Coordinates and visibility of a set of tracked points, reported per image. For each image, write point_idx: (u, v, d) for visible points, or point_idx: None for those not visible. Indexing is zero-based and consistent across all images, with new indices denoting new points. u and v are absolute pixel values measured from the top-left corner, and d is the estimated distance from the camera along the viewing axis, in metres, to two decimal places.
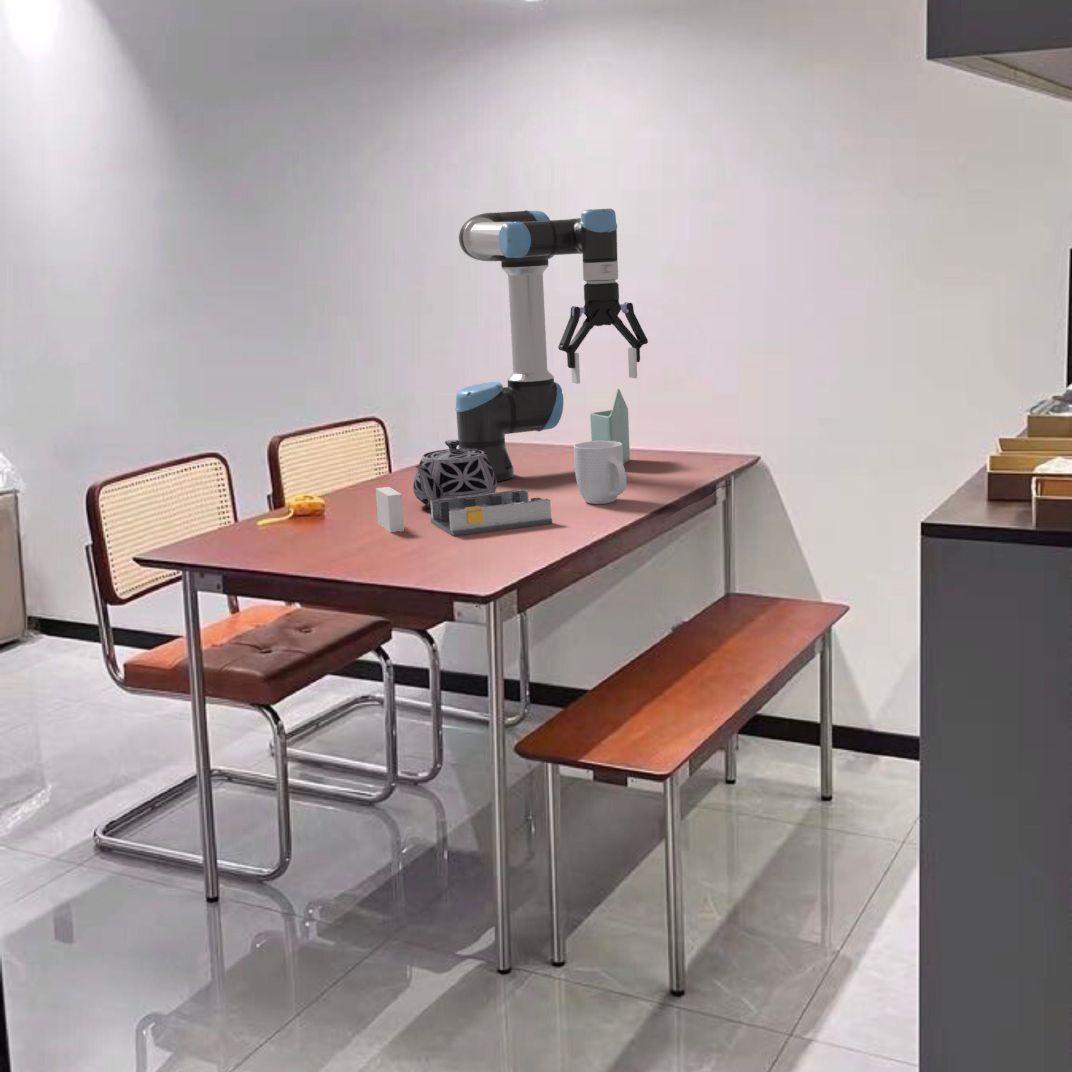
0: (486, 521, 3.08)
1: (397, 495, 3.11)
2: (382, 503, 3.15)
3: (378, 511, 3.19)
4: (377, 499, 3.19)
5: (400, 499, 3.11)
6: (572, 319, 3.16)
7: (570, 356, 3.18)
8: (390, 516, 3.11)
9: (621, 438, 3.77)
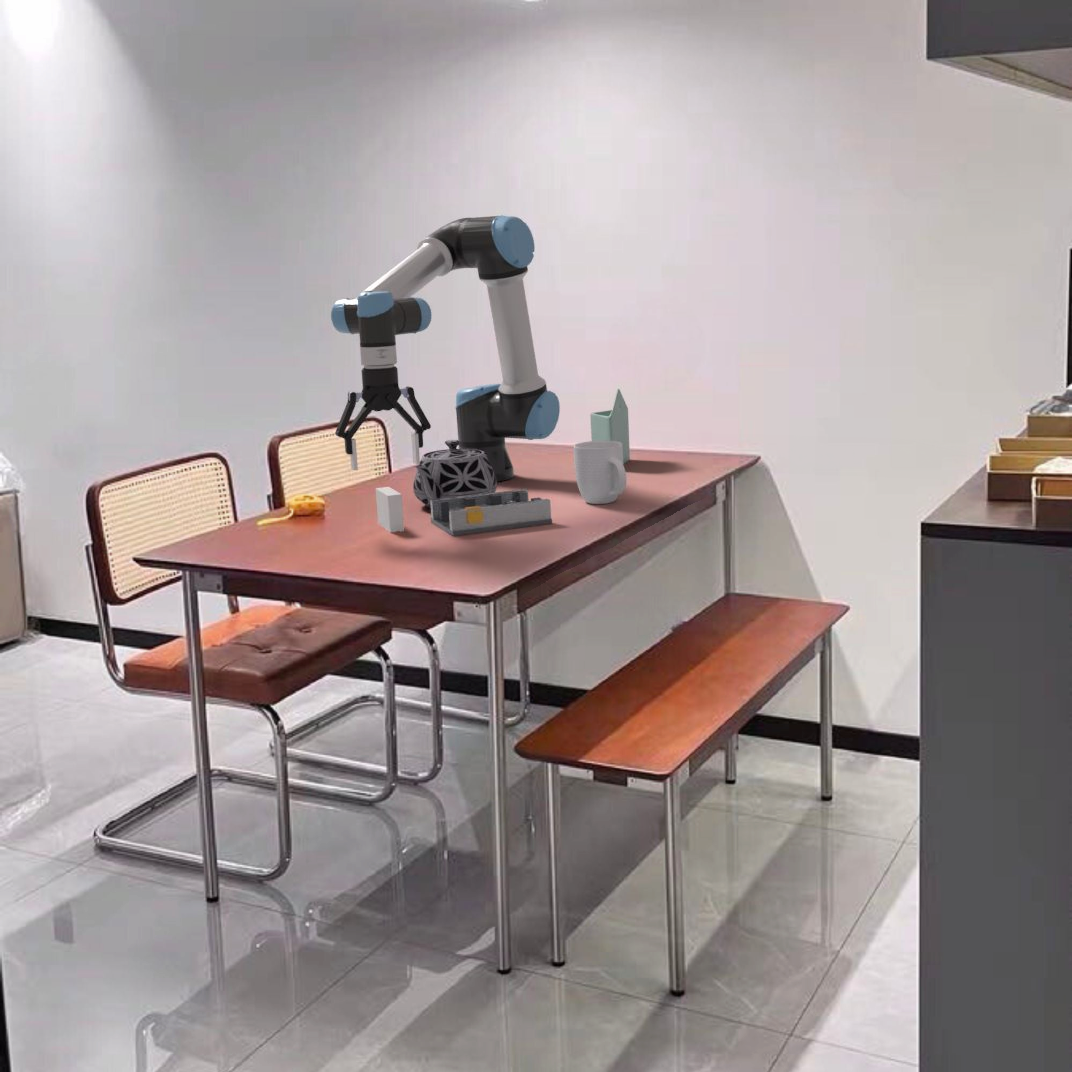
0: (486, 521, 3.08)
1: (397, 495, 3.11)
2: (382, 503, 3.15)
3: (378, 511, 3.19)
4: (377, 499, 3.19)
5: (400, 499, 3.11)
6: (348, 404, 3.08)
7: (347, 442, 3.09)
8: (390, 516, 3.11)
9: (621, 438, 3.77)
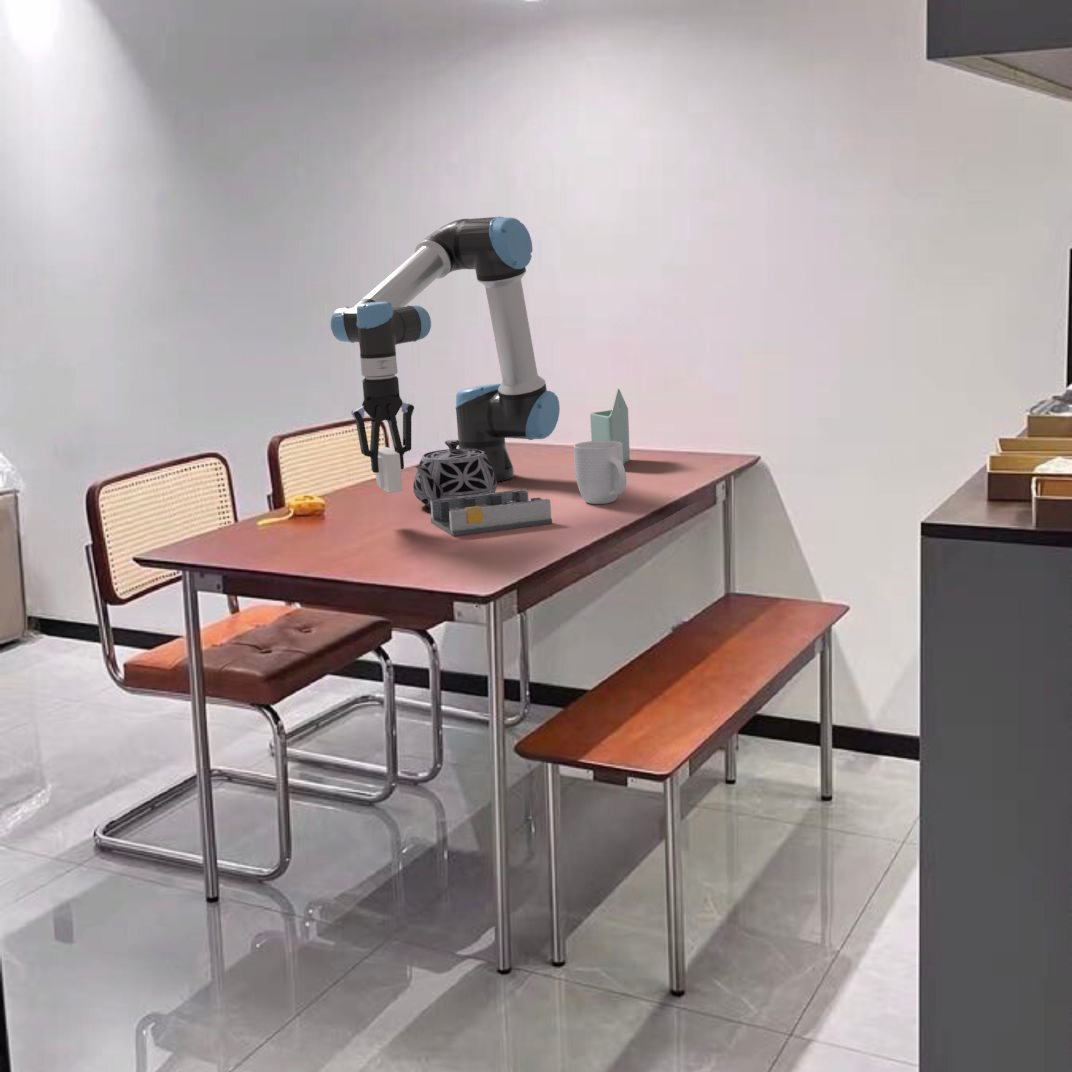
0: (486, 521, 3.08)
1: (395, 455, 3.09)
2: None
3: None
4: None
5: (398, 458, 3.09)
6: (358, 424, 3.09)
7: (373, 461, 3.12)
8: (389, 476, 3.09)
9: (621, 438, 3.77)
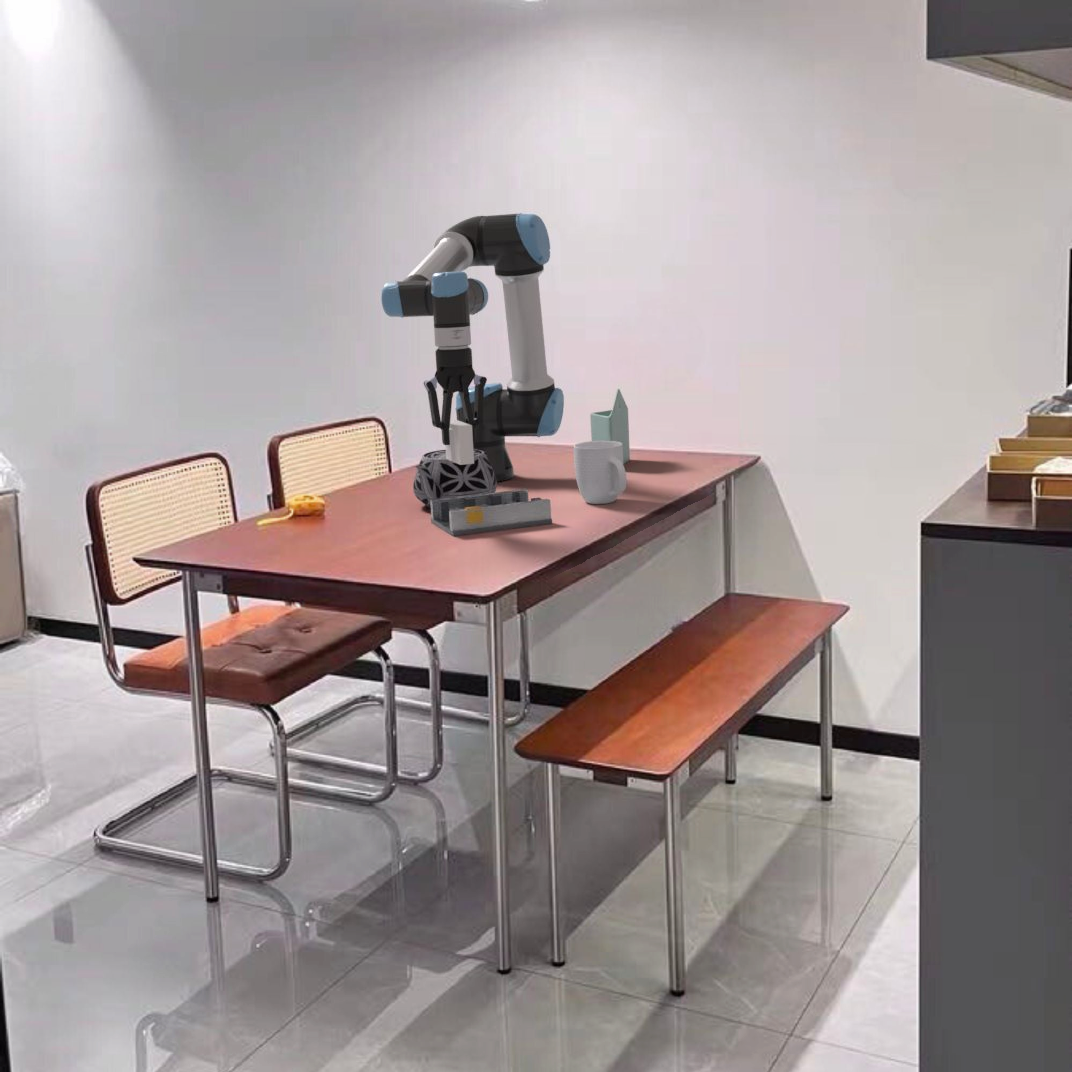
0: (486, 521, 3.08)
1: (468, 426, 3.05)
2: None
3: (446, 445, 3.13)
4: None
5: (471, 430, 3.05)
6: (430, 395, 3.05)
7: (444, 433, 3.08)
8: (461, 447, 3.05)
9: (621, 438, 3.77)
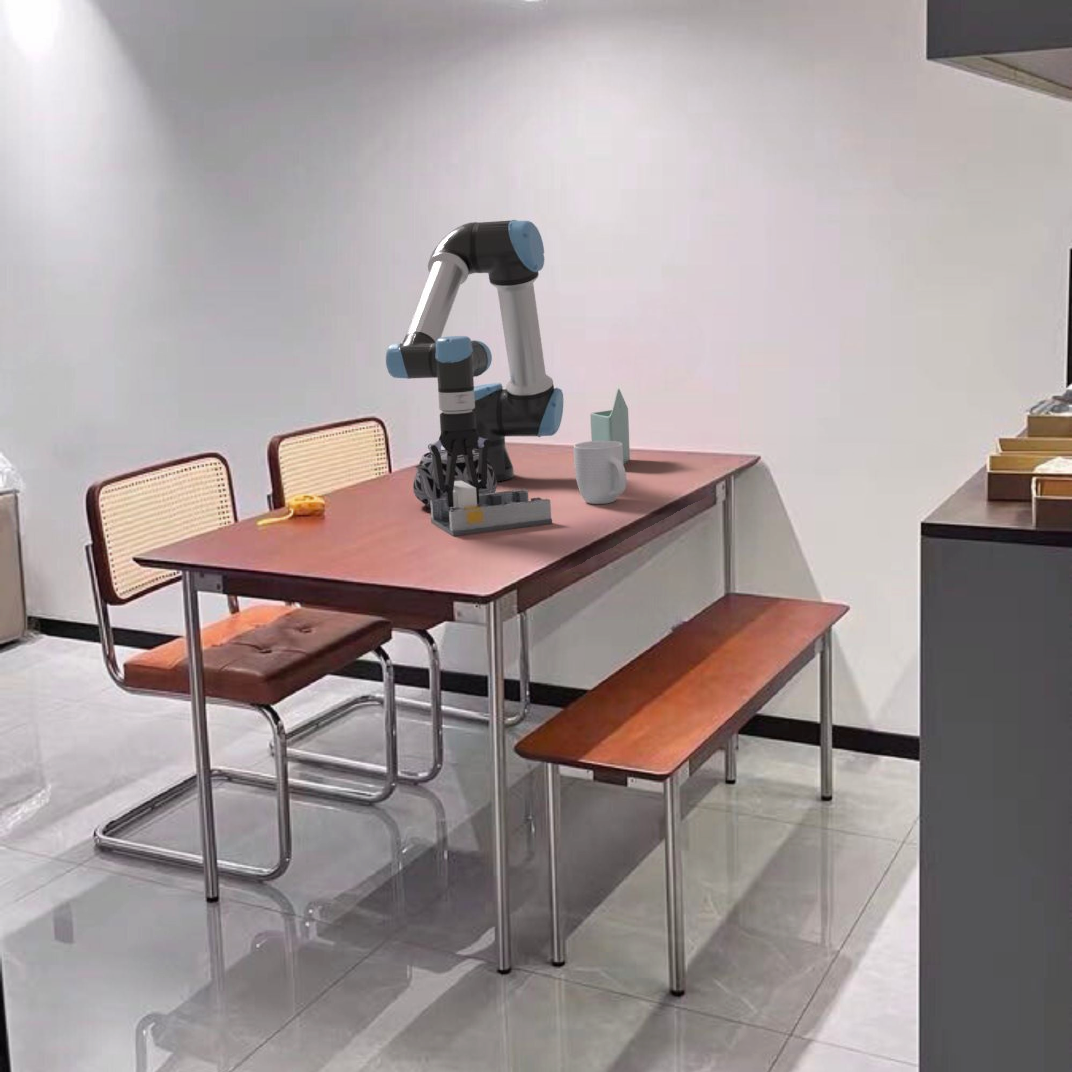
0: (486, 521, 3.08)
1: (472, 489, 3.08)
2: None
3: None
4: None
5: (475, 492, 3.08)
6: (434, 458, 3.08)
7: (448, 495, 3.11)
8: None
9: (621, 438, 3.77)
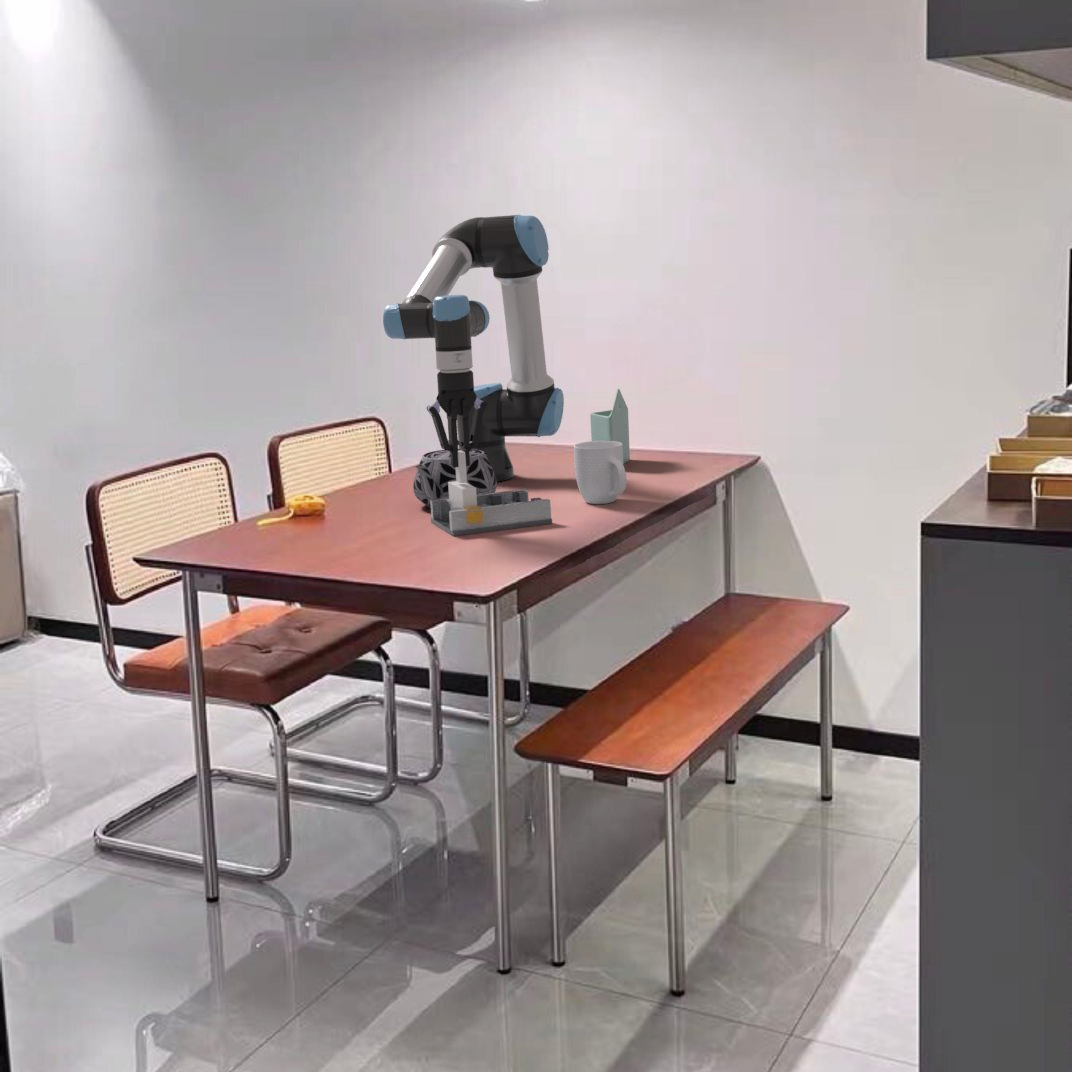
0: (486, 521, 3.08)
1: (472, 489, 3.08)
2: (455, 497, 3.12)
3: (451, 505, 3.16)
4: (450, 493, 3.16)
5: (475, 492, 3.08)
6: (434, 419, 3.07)
7: (453, 455, 3.10)
8: None
9: (621, 438, 3.77)
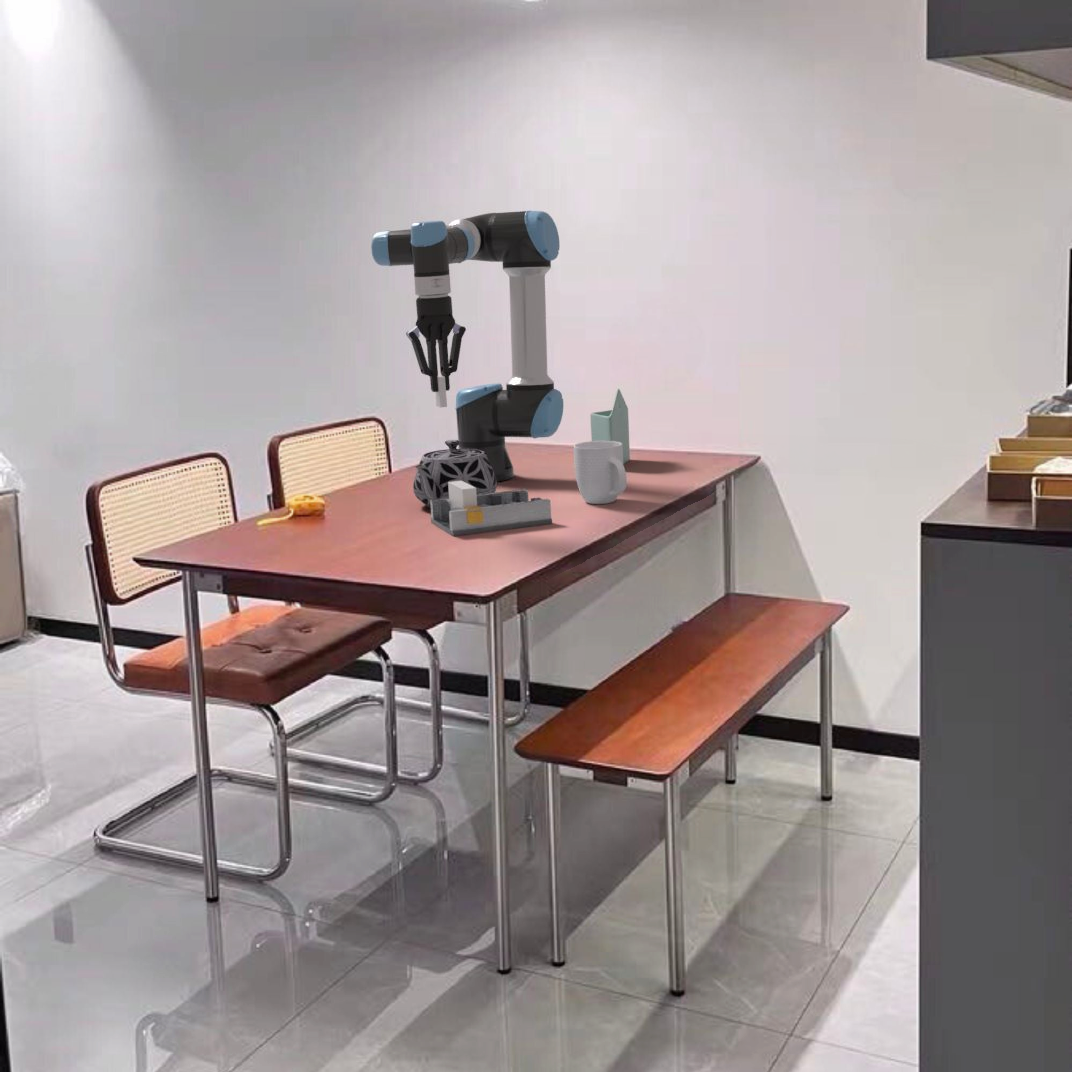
0: (486, 521, 3.08)
1: (472, 489, 3.08)
2: (455, 497, 3.12)
3: (451, 505, 3.16)
4: (450, 493, 3.16)
5: (475, 492, 3.08)
6: (414, 344, 3.12)
7: (433, 380, 3.15)
8: None
9: (621, 438, 3.77)
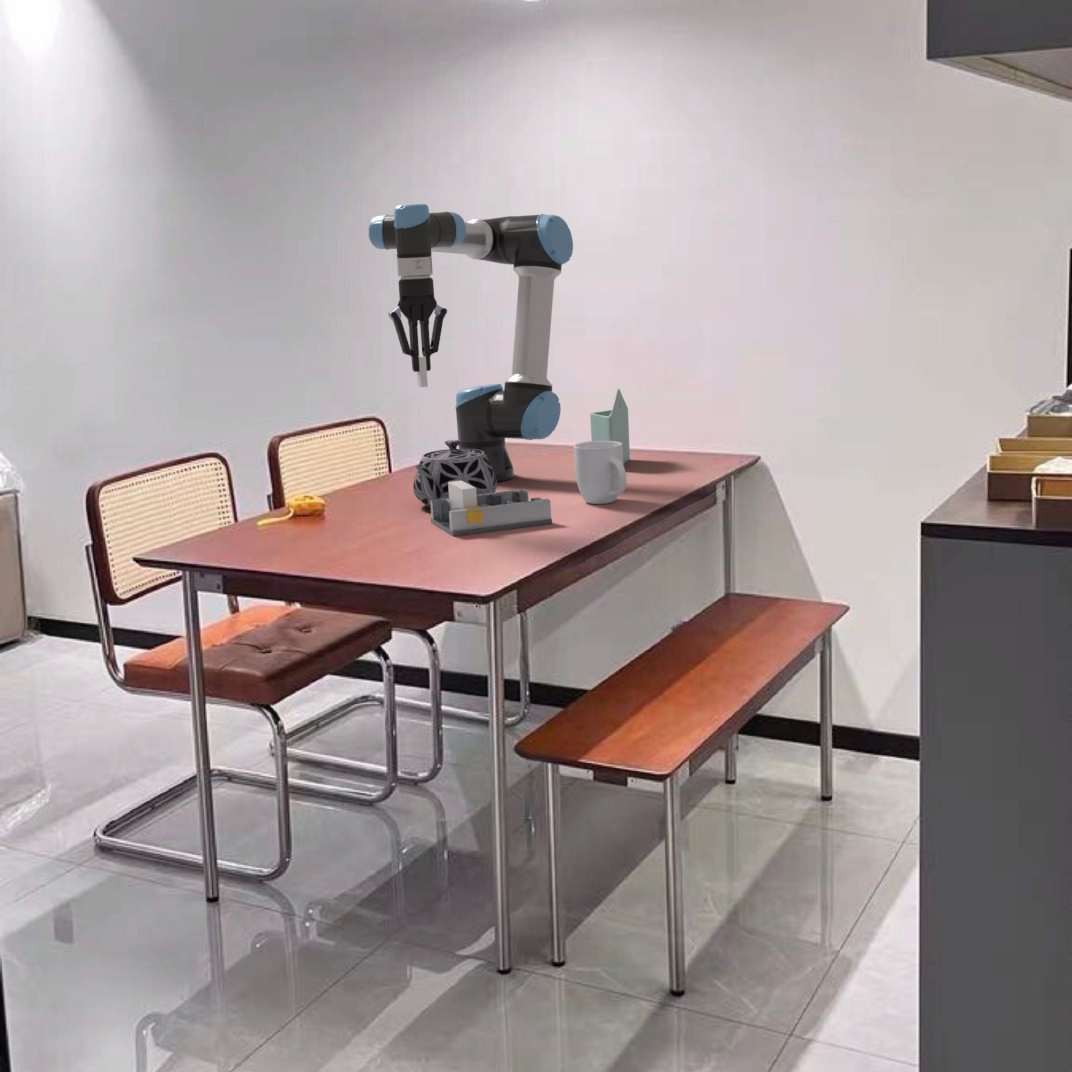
0: (486, 521, 3.08)
1: (472, 489, 3.08)
2: (455, 497, 3.12)
3: (451, 505, 3.16)
4: (450, 493, 3.16)
5: (475, 492, 3.08)
6: (396, 324, 3.19)
7: (414, 360, 3.21)
8: None
9: (621, 438, 3.77)
